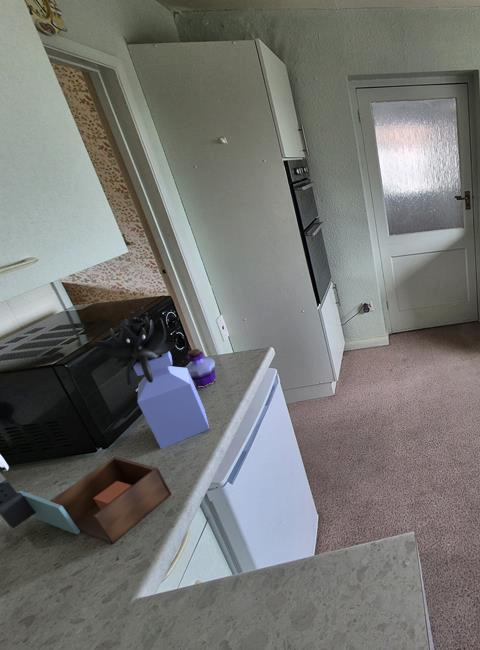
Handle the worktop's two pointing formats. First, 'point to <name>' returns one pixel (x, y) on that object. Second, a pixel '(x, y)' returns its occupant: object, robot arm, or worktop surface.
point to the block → (111, 494)
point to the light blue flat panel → (35, 511)
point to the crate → (124, 508)
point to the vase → (157, 380)
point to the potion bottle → (200, 368)
